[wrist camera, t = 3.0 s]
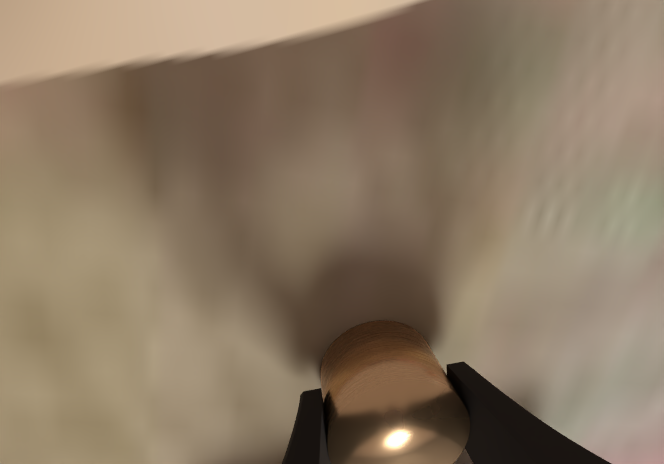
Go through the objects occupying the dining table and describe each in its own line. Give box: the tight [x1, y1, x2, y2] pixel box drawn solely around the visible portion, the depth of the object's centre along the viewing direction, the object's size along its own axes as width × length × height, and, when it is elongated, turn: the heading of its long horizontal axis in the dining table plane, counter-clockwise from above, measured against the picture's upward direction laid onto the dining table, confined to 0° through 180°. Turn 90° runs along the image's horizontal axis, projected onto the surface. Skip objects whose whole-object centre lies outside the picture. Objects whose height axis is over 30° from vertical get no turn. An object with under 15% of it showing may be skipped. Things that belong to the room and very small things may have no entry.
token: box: [320, 321, 470, 464], centre depth 11 cm, size 4×4×3 cm
